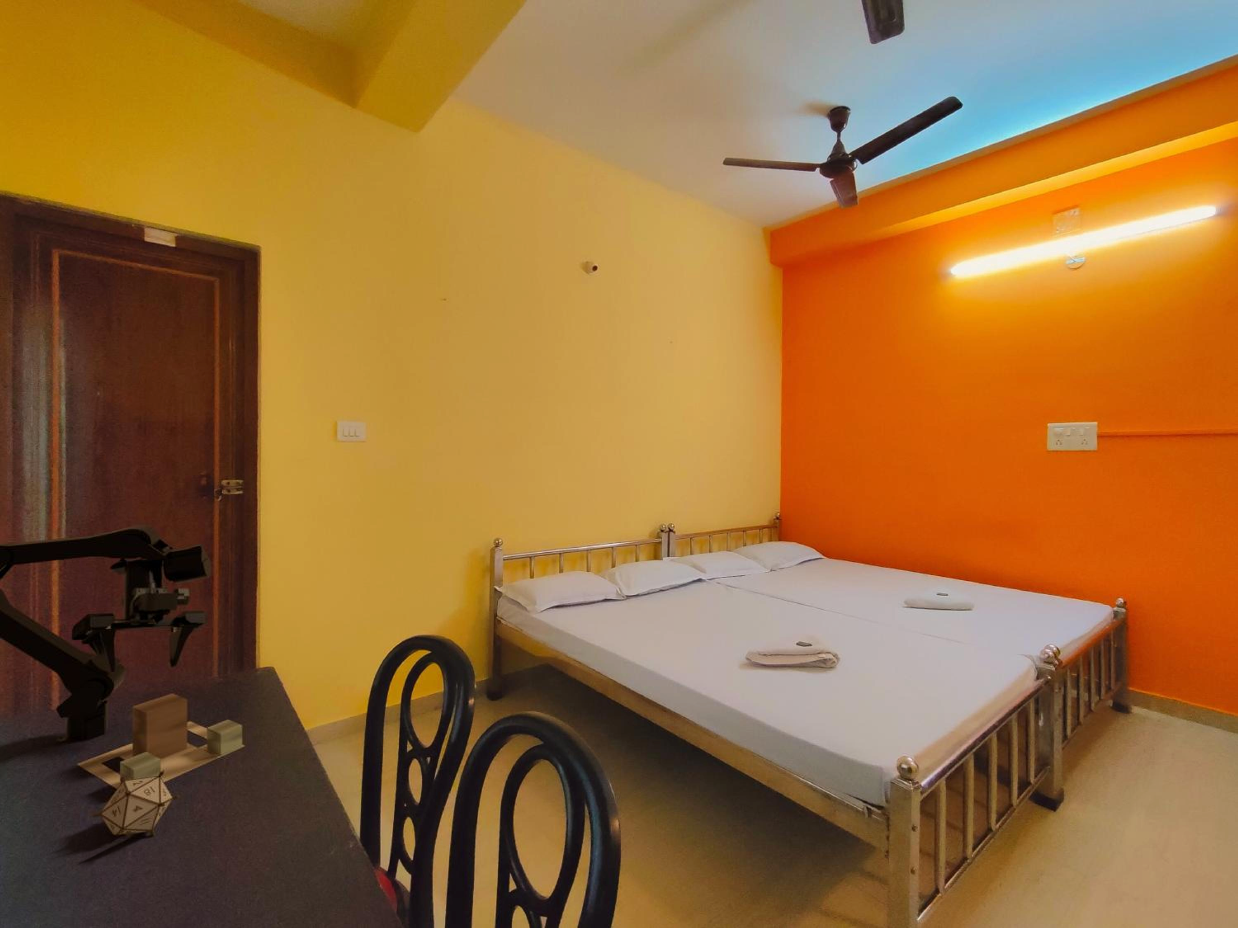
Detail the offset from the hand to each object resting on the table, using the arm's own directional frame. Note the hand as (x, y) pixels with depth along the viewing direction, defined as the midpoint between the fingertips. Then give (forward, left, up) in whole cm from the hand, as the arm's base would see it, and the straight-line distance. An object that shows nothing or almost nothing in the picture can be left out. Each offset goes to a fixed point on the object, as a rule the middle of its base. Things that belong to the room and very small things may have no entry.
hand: (143, 669), depth 101 cm
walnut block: (+5, 0, -14) cm, 15 cm away
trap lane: (+7, 0, -15) cm, 17 cm away
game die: (+24, -11, -15) cm, 31 cm away
